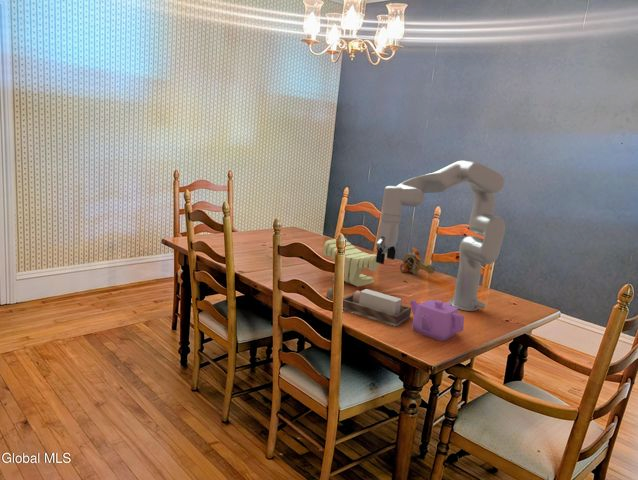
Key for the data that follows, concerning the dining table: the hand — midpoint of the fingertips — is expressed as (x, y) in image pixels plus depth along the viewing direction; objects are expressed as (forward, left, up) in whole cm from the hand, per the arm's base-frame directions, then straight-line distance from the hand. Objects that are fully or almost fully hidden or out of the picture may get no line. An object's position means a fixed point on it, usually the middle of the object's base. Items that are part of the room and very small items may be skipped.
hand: (385, 260), depth 190 cm
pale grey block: (+1, 0, -21) cm, 21 cm away
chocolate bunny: (+23, -2, -23) cm, 32 cm away
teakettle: (-23, +1, -23) cm, 33 cm away
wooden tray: (+2, 0, -22) cm, 22 cm away
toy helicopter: (+12, -67, -23) cm, 72 cm away
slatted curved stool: (+29, -31, -23) cm, 48 cm away
